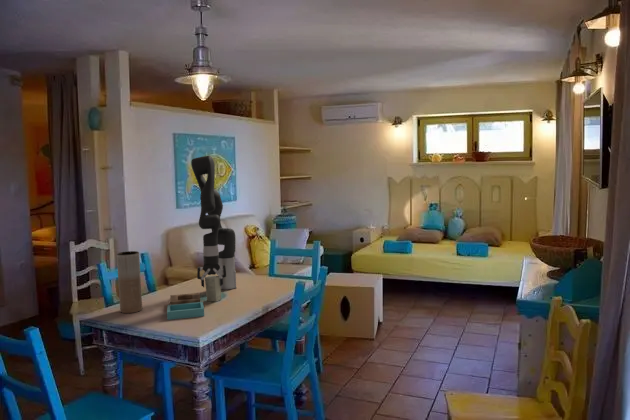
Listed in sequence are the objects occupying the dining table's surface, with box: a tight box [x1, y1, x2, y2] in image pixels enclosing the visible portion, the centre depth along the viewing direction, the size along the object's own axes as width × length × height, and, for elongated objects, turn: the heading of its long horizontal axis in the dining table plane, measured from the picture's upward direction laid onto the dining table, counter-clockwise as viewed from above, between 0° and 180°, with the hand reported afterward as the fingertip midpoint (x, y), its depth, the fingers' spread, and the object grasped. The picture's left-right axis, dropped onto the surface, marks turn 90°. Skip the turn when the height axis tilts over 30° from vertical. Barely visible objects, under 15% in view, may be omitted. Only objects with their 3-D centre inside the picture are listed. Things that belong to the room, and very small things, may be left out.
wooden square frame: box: [169, 292, 201, 305], centre depth 249 cm, size 14×14×4 cm
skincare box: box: [204, 275, 222, 302], centre depth 257 cm, size 6×4×12 cm
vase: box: [116, 250, 143, 314], centre depth 242 cm, size 10×10×28 cm
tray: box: [166, 301, 205, 320], centre depth 234 cm, size 16×12×4 cm
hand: (212, 286), depth 257 cm, fingers open, 8 cm apart
